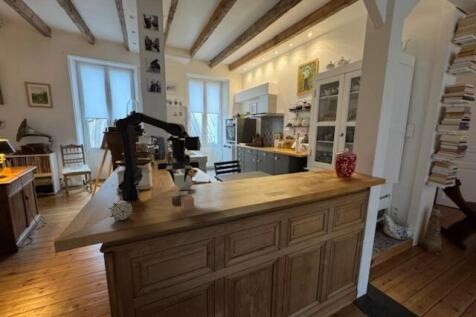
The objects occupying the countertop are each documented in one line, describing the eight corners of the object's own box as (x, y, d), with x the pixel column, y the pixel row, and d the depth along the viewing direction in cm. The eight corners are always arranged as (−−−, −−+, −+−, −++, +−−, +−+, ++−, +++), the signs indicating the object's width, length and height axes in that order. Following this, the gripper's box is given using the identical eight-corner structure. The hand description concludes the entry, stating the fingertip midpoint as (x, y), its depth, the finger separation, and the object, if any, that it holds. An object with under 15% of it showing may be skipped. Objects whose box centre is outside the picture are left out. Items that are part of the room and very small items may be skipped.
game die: (120, 227, 81) (117, 203, 84) (140, 219, 81) (137, 196, 85) (104, 226, 72) (102, 200, 76) (126, 217, 73) (123, 192, 76)
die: (184, 194, 111) (194, 179, 113) (171, 185, 112) (181, 170, 114) (188, 194, 120) (197, 180, 121) (175, 186, 120) (185, 172, 122)
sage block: (174, 183, 100) (174, 173, 99) (184, 182, 101) (183, 173, 100) (174, 185, 95) (174, 175, 95) (184, 185, 97) (184, 175, 96)
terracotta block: (184, 210, 88) (183, 199, 87) (181, 207, 92) (180, 196, 91) (194, 208, 90) (193, 198, 89) (190, 205, 94) (190, 195, 93)
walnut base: (172, 204, 95) (171, 196, 95) (173, 199, 102) (173, 191, 102) (187, 203, 97) (187, 195, 96) (187, 198, 104) (187, 191, 103)
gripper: (155, 153, 85) (157, 188, 88) (200, 151, 91) (200, 185, 93) (157, 150, 96) (159, 181, 98) (197, 149, 101) (198, 179, 104)
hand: (179, 182), depth 98 cm, fingers closed on sage block, 4 cm apart
